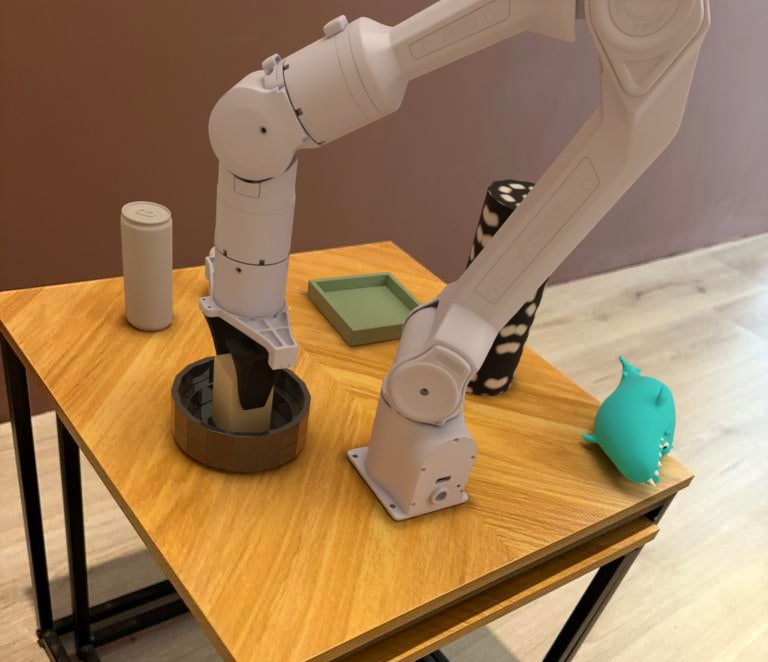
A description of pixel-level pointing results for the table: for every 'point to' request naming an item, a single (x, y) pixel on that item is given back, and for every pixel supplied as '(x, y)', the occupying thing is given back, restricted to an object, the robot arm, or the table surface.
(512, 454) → the table surface
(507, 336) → the white-spotted black cylinder
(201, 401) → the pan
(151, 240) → the beverage can
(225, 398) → the block
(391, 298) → the tray
